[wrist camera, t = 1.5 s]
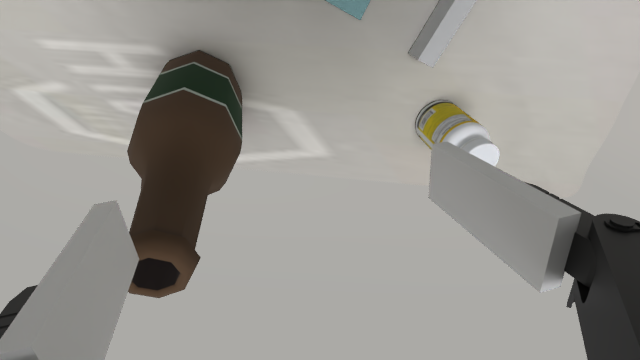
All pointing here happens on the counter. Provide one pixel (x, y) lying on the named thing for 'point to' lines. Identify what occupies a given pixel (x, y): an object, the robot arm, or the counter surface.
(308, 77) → the counter surface
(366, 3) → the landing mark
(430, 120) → the supplement bottle
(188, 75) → the beer bottle
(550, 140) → the counter surface
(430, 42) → the wall
